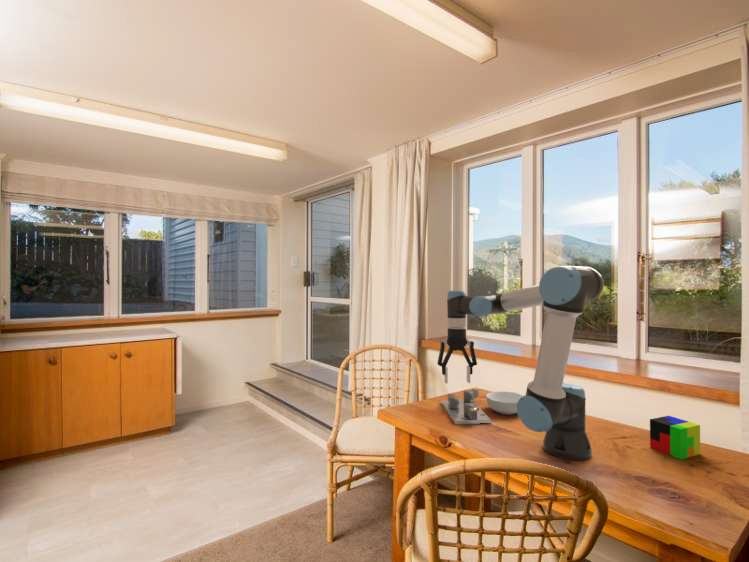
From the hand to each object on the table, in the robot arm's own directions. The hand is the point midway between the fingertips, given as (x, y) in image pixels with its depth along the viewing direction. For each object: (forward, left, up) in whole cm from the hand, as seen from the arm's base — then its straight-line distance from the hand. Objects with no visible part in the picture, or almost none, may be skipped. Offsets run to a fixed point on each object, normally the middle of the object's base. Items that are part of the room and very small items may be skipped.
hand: (457, 382), depth 161 cm
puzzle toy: (-29, -69, -18) cm, 76 cm away
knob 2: (+27, -13, -16) cm, 34 cm away
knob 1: (+19, -3, -16) cm, 24 cm away
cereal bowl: (+14, -26, -18) cm, 34 cm away
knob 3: (+3, -7, -16) cm, 17 cm away
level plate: (+14, -7, -17) cm, 23 cm away
